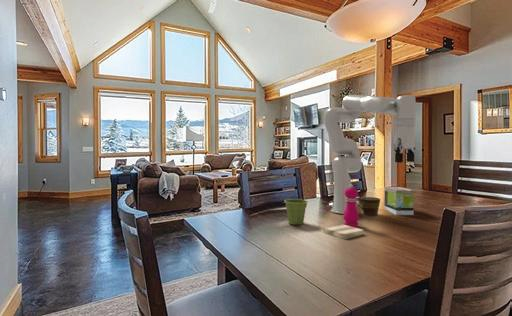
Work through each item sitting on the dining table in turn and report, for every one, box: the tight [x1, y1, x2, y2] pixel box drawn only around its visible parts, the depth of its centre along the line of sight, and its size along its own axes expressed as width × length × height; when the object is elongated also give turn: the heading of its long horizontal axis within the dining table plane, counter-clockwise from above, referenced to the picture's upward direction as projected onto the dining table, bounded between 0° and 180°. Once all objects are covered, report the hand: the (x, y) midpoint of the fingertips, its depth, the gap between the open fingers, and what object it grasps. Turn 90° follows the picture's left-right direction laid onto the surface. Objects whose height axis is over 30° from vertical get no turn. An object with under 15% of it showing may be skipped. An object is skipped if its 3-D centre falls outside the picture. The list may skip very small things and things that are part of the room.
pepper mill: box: [342, 183, 360, 228], centre depth 135 cm, size 7×7×20 cm
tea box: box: [384, 186, 415, 216], centre depth 161 cm, size 15×10×15 cm
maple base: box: [322, 223, 365, 240], centre depth 123 cm, size 12×12×2 cm
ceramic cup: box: [356, 196, 381, 217], centre depth 155 cm, size 13×10×10 cm
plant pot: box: [284, 198, 309, 226], centre depth 141 cm, size 12×12×11 cm
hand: (404, 162), depth 127 cm, fingers open, 9 cm apart
